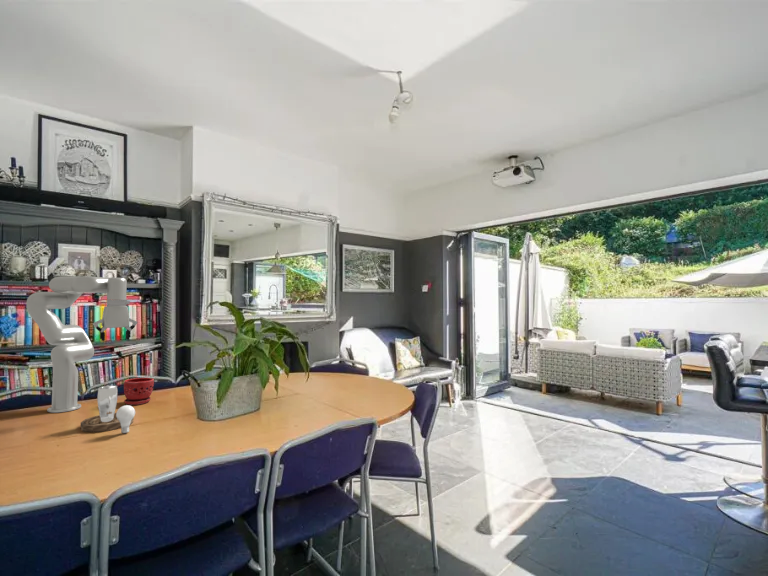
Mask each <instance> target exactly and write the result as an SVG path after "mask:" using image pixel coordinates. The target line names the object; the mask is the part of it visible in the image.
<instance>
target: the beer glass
mask: <svg viewBox="0 0 768 576" xmlns="http://www.w3.org/2000/svg"><path fill="white" fill-rule="evenodd" d="M118 396H119V393H118V385H104V386H100V387H98V389H97V407H98V413H99V414H98V415H99V421H98V424H105V423H111V422H116V420H115V413H116V408H117V403H118Z"/></svg>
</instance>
